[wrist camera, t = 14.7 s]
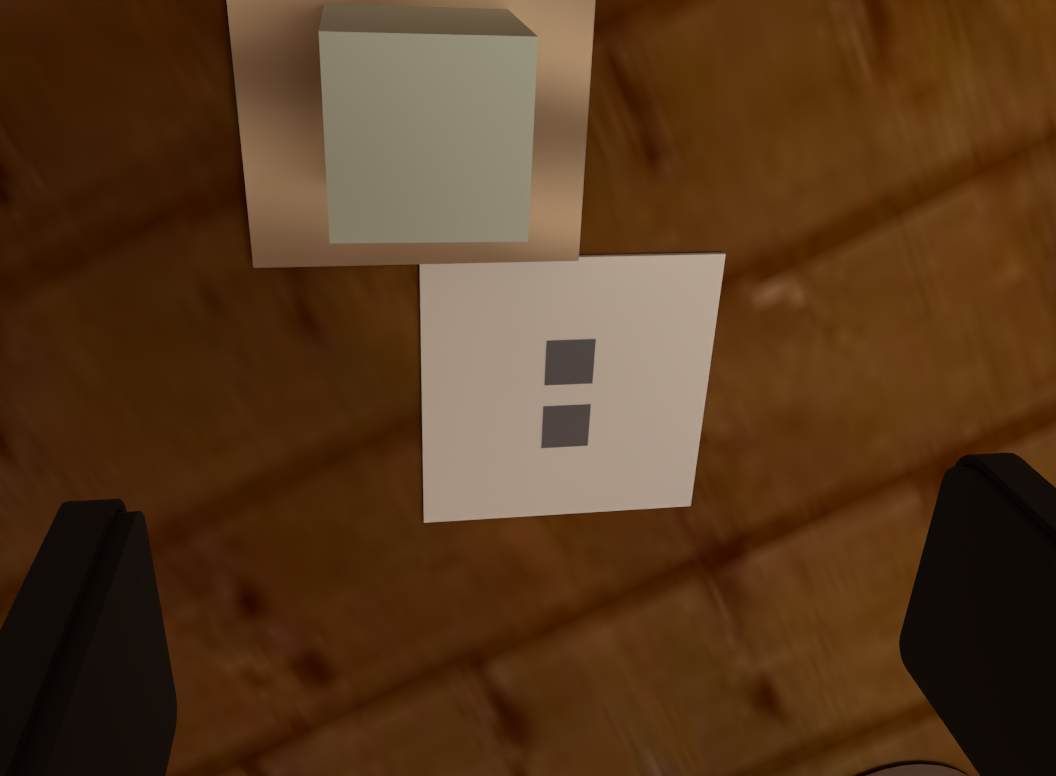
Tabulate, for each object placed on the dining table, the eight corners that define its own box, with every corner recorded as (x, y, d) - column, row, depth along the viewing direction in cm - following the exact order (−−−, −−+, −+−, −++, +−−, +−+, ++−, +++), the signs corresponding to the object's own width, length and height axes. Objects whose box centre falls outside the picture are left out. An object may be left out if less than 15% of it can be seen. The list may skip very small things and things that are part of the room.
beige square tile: (575, 255, 38) (578, 260, 37) (255, 261, 36) (253, 267, 35) (597, -91, 32) (601, -91, 31) (218, -105, 30) (216, -105, 30)
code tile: (689, 503, 44) (690, 506, 44) (423, 519, 42) (423, 523, 42) (723, 252, 38) (725, 254, 38) (419, 258, 37) (419, 260, 36)
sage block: (502, 185, 35) (528, 241, 30) (332, 185, 34) (329, 243, 29) (508, 9, 32) (538, 36, 27) (323, 3, 31) (318, 31, 26)
